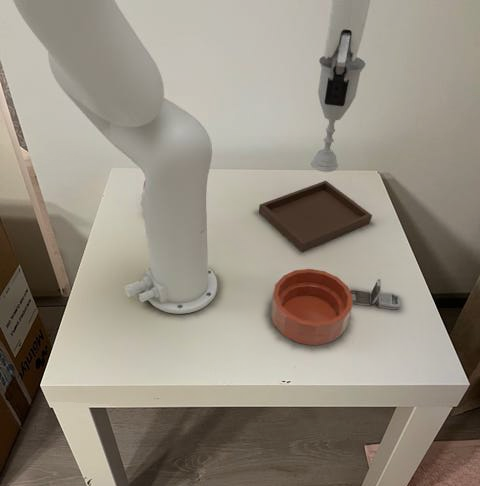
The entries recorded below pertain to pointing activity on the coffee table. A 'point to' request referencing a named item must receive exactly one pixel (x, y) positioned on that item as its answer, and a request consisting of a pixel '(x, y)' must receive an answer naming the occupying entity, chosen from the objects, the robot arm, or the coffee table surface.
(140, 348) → the coffee table surface
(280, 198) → the tray
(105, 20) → the robot arm
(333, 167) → the chalice
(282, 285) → the bowl
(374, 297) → the strap clip
